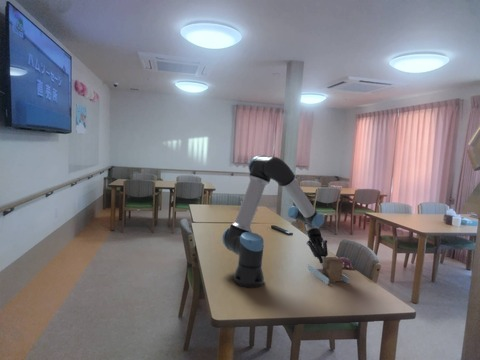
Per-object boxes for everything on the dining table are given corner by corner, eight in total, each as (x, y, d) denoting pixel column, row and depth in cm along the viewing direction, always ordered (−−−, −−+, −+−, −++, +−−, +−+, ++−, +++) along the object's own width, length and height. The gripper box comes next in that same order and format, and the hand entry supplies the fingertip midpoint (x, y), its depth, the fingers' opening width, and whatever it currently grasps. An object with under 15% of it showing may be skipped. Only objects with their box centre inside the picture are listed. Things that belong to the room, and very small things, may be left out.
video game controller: (350, 269, 183) (349, 257, 186) (353, 269, 179) (352, 257, 182) (333, 268, 183) (333, 256, 185) (336, 268, 179) (336, 256, 181)
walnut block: (322, 276, 166) (324, 257, 165) (333, 276, 168) (335, 256, 167) (329, 282, 159) (331, 262, 158) (340, 281, 161) (343, 261, 160)
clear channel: (307, 269, 175) (308, 264, 175) (327, 268, 179) (327, 263, 178) (327, 284, 156) (327, 279, 156) (348, 283, 160) (349, 278, 159)
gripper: (319, 233, 188) (332, 270, 174) (300, 233, 185) (312, 271, 171) (325, 227, 183) (338, 265, 169) (306, 227, 179) (318, 266, 165)
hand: (325, 268), depth 170 cm, fingers closed
